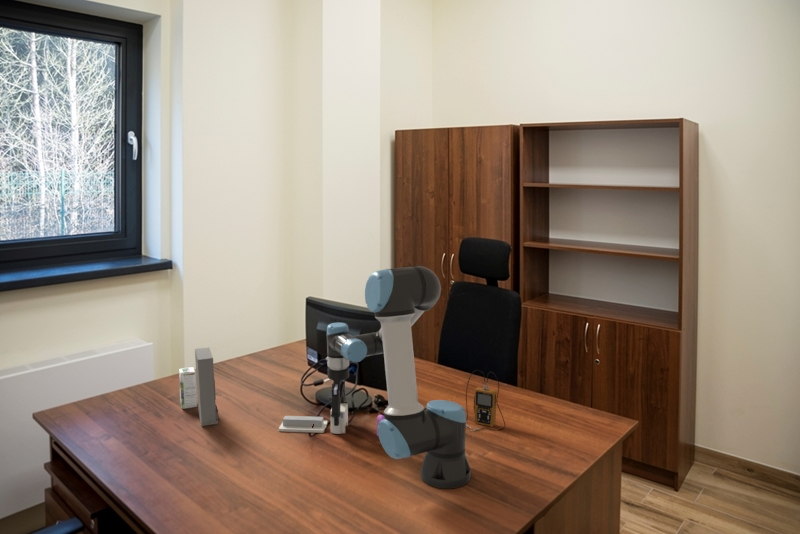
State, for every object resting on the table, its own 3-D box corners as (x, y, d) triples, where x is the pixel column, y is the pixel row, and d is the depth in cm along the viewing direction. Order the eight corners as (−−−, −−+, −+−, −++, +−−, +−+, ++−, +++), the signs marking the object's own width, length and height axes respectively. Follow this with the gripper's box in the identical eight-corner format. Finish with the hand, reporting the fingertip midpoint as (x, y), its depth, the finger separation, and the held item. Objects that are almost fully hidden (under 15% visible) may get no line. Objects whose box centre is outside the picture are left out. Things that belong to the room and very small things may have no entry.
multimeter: (456, 429, 231) (457, 375, 228) (467, 419, 240) (468, 367, 236) (496, 437, 225) (497, 382, 221) (505, 426, 233) (507, 373, 230)
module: (348, 424, 235) (347, 403, 234) (344, 433, 228) (344, 411, 226) (334, 424, 236) (333, 403, 234) (330, 433, 228) (330, 411, 227)
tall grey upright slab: (219, 424, 236) (215, 357, 231) (201, 426, 233) (197, 360, 229) (214, 410, 248) (211, 347, 244) (198, 412, 246) (194, 348, 242)
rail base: (327, 423, 236) (327, 414, 236) (323, 432, 228) (323, 423, 228) (284, 422, 237) (283, 413, 237) (278, 431, 230) (278, 422, 229)
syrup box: (180, 404, 254) (177, 368, 252) (195, 401, 257) (193, 366, 254) (181, 409, 249) (179, 373, 246) (197, 406, 252) (195, 370, 249)
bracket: (391, 438, 224) (391, 419, 223) (376, 436, 226) (376, 417, 225) (404, 423, 236) (404, 405, 235) (389, 421, 238) (389, 403, 237)
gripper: (332, 357, 238) (333, 415, 242) (321, 376, 218) (323, 440, 222) (353, 357, 238) (353, 416, 242) (344, 377, 217) (344, 441, 221)
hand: (339, 427), depth 232 cm, fingers open, 8 cm apart
